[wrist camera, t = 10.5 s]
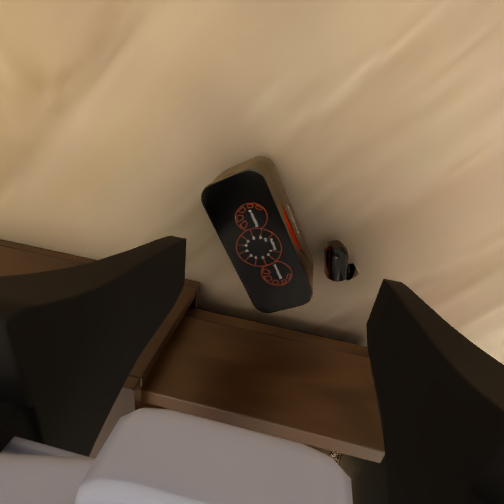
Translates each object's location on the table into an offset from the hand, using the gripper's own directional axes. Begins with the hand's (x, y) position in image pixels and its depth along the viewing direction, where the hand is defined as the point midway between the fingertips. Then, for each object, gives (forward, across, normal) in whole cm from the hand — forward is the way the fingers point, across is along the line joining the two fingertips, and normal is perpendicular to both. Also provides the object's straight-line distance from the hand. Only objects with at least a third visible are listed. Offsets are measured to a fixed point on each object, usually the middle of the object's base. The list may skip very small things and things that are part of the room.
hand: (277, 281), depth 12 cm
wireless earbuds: (+5, 0, 0) cm, 5 cm away
